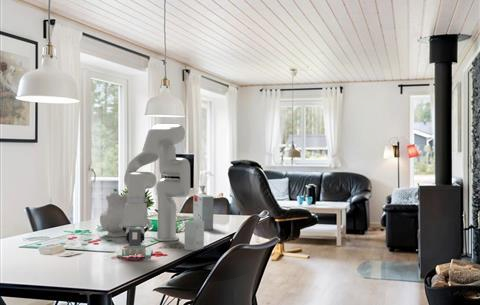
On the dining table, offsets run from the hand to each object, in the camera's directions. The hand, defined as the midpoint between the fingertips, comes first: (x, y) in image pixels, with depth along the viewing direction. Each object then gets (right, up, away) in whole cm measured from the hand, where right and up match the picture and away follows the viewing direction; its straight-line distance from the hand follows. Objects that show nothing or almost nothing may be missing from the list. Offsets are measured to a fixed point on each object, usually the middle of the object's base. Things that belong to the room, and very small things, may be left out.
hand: (135, 241), depth 225 cm
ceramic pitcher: (-20, -6, +52) cm, 56 cm away
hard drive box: (+24, -7, +83) cm, 87 cm away
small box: (+24, -6, +17) cm, 30 cm away
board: (0, -6, 0) cm, 6 cm away
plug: (0, -2, 0) cm, 2 cm away
